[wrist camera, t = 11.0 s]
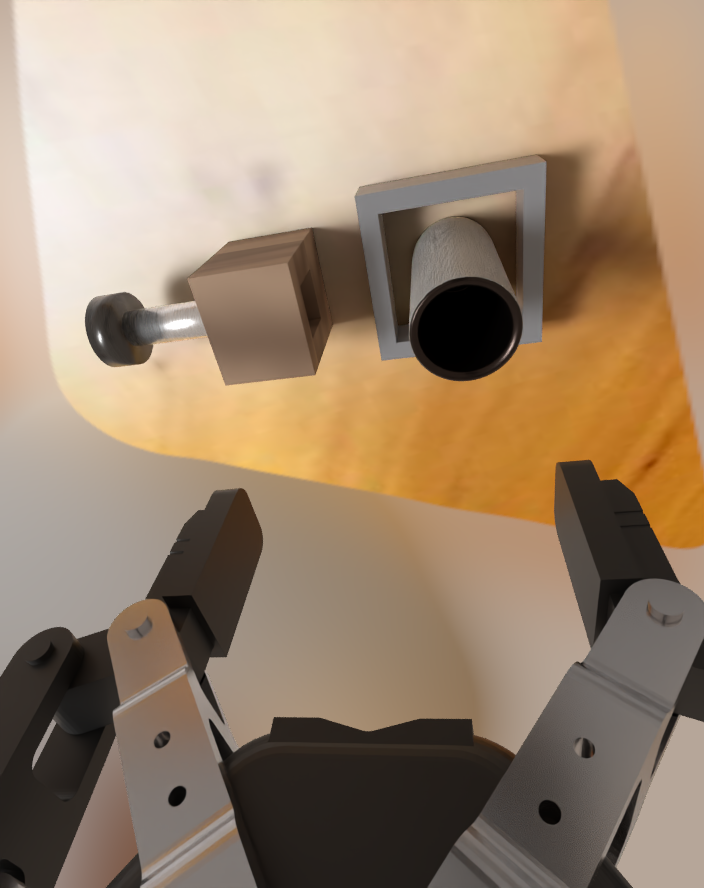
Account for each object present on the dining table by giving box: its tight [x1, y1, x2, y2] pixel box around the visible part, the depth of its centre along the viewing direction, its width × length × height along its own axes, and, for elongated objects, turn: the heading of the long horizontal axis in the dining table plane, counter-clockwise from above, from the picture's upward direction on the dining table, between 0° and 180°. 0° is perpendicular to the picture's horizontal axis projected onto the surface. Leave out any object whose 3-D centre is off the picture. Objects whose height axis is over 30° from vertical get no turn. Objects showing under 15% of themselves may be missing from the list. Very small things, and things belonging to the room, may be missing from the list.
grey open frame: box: [355, 155, 546, 360], centre depth 28 cm, size 9×9×2 cm
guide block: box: [187, 228, 333, 385], centre depth 28 cm, size 6×5×7 cm
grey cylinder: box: [409, 217, 523, 381], centre depth 25 cm, size 4×4×10 cm
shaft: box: [85, 292, 208, 367], centre depth 29 cm, size 4×10×4 cm, turn 100°
